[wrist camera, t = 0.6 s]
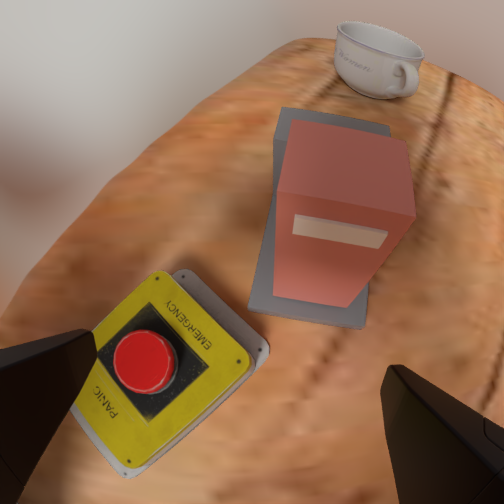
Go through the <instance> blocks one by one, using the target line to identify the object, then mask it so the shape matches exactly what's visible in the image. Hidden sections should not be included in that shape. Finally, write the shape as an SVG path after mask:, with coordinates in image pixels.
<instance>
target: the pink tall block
mask: <svg viewBox="0 0 504 504" xmlns="http://www.w3.org/2000/svg"><path fill="white" fill-rule="evenodd" d="M415 219H416V208H415V199H414V190H413V183H412V175H411V169H410V162H409V156H408V151H407V145H406V141H403V140H399V139H395V138H391V137H387V136H383V135H378V134H374V133H369V132H365V131H360V130H355V129H350V128H345V127H340V126H334V125H328V124H323V123H316V122H310V121H303V120H296V119H292V122H291V126H290V131H289V136H288V141H287V146H286V150H285V155H284V160H283V164H282V169H281V174H280V179H279V183H278V188H277V201H276V231H275V257H274V280H273V296H278V297H283V298H289V299H295V300H301V301H306V302H312V303H318V304H324V305H331V306H337V307H343V308H347V307H348V306H349V305H350V303H351V302H352V301H353V300H354V299H355V298H356V296H357V295H358V294H359V293H360V291H361V290H362V289H363V288H364V287H365V285H366V284H367V283H368V282H369V280H370V279H371V278H372V277H373V275H374V274H375V273H376V272H377V270H378V269H379V268H380V266H381V265H382V264H383V263H384V261H385V260H386V259H387V257H388V256H389V255H390V253H391V252H392V251H393V249H394V248H395V247H396V245H397V244H398V243H399V241H400V240H401V238H402V237H403V236H404V234H405V233H406V232H407V230H408V229H409V227H410V226H411V224H412V223H413V222H414V220H415Z"/></svg>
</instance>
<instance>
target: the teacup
mask: <svg viewBox="0 0 504 504" xmlns="http://www.w3.org/2000/svg"><path fill="white" fill-rule="evenodd" d="M337 30H338V33H337V39H336V45H335V53H334V65H335V68H336V71H337V73H338V74H339V75H340V77H341V78H342V79H343V80H344V81H345V82H346V84H347V85H348V86H349V87H351V88H352V89H353V90H355V91H357V92H358V93H360V94H363V95H365V96H368V97H372V98H376V99H390V98H396V97H410V96H412V95H413V94H414V93H415V92H416V91H417V89H418V85H419V75H418V70H419V67H420V64H421V61H422V60H423V58H424V56H425V54H424V52H423V51H422V49H421V48H420V47H419V46H418V45H417V44H416V43H414V42H413V41H411V40H410V39H408V38H406V37H405V36H402V35H401V34H399V33H396V32H394V31H392V30H389V29H386V28H384V27H380V26H377V25H373V24H369V23H365V22H357V21H347V22H342V23H340V24H338V26H337Z"/></svg>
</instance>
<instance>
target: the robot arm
mask: <svg viewBox="0 0 504 504" xmlns="http://www.w3.org/2000/svg"><path fill="white" fill-rule="evenodd" d="M97 355H98V354H97V348H96V343H95V338H94V334H93V332H91V331H89V330H86V329H77V330H74V331H70V332H66V333H63V334H59V335H55V336H51V337H47V338H44V339H40V340H36V341H32V342H28V343H24V344H20V345H16V346H12V347H8V348H4V349H0V504H16V503H17V501H18V499H19V497H20V495H21V493H22V491H23V490H24V486H25V485H26V484H27V482H28V480H29V478H30V476H31V474H32V472H33V471H34V469H35V467H36V465H37V463H38V462H39V460H40V458H41V456H42V455H43V453H44V451H45V449H46V448H47V446H48V444H49V443H50V441H51V439H52V437H53V436H54V434H55V432H56V431H57V429H58V427H59V426H60V424H61V423H62V421H63V419H64V418H65V416H66V414H67V413H68V411H69V410H70V408H71V406H72V405H73V403H74V402H75V400H76V398H77V397H78V395H79V393H80V391H81V390H82V388H83V386H84V384H85V382H86V380H87V378H88V376H89V374H90V372H91V370H92V368H93V366H94V364H95V362H96V360H97ZM380 395H381V403H382V411H383V419H384V428H385V435H386V440H387V445H388V449H389V454H390V458H391V463H392V468H393V473H394V478H395V483H396V488H397V493H398V499H399V504H504V428H502V427H500V426H499V425H497V424H495V423H494V422H492V421H491V420H489V419H487V418H486V417H484V418H483V416H482V415H481V414H479V413H478V412H476V411H474V410H473V409H471V408H470V407H468V406H467V405H465V404H463V403H462V402H460V401H459V400H457V399H455V398H454V397H452V396H451V395H449V394H448V393H446V392H444V391H443V390H441V389H440V388H438V387H437V386H435V385H433V384H432V383H430V382H429V381H427V380H426V379H424V378H422V377H421V376H419V375H418V374H416V373H415V372H413V371H412V370H410V369H408V368H407V367H405V366H404V365H401V364H399V365H390V366H389V367H388V368H387V371H386V374H385V377H384V380H383V383H382V386H381V390H380Z"/></svg>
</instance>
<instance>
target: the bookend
mask: <svg viewBox="0 0 504 504" xmlns="http://www.w3.org/2000/svg"><path fill="white" fill-rule="evenodd" d="M292 119H296V120H303V121H310V122H316V123H323V124H328V125H334V126H340V127H345V128H350V129H355V130H360V131H365V132H369V133H374V134H378V135H383V136H387V137H391V135H390V128H389V126H387V125H383V124H378V123H374V122H370V121H365V120H360V119H355V118H350V117H345V116H340V115H334V114H329V113H323V112H316V111H310V110H303V109H295V108H287V107H282V108H281V112H280V115H279V119H278V123H277V127H276V131H275V135H274V139H273V196H272V201H271V205H270V210H269V214H268V219H267V223H266V228H265V232H264V237H263V241H262V246H261V250H260V254H259V259H258V263H257V268H256V272H255V276H254V281H253V285H252V289H251V294H250V298H249V303H248V311H251V312H256V313H262V314H267V315H272V316H278V317H283V318H289V319H295V320H301V321H307V322H313V323H319V324H325V325H332V326H338V327H345V328H352V329H359V330H361V329H362V328H364V327H365V321H366V311H367V299H368V285H369V282H368V283H367V284H366V285H365V287H364V288H363V289H362V290H361V291H360V293H359V294H358V295H357V296H356V298H355V299H354V300H353V301H352V302H351V303H350V305H349V306H348V307H347V308H343V307H337V306H331V305H324V304H318V303H312V302H306V301H301V300H295V299H289V298H283V297H278V296H273V280H274V257H275V231H276V201H277V188H278V183H279V179H280V174H281V169H282V164H283V160H284V155H285V150H286V146H287V141H288V136H289V131H290V126H291V122H292Z"/></svg>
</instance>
